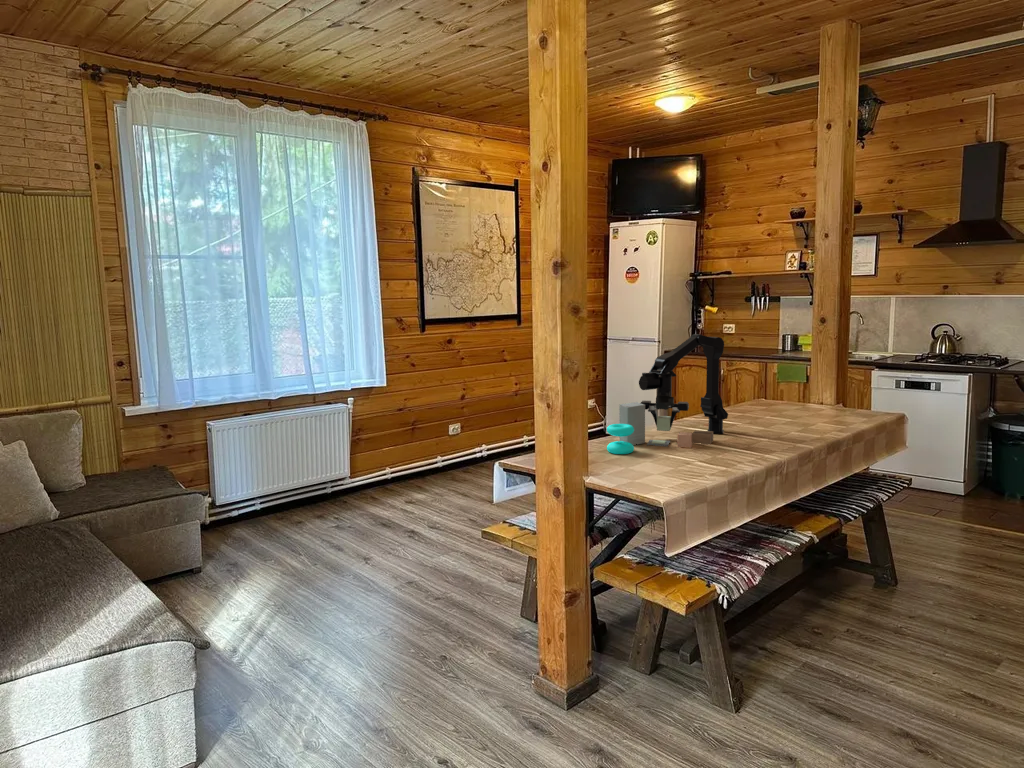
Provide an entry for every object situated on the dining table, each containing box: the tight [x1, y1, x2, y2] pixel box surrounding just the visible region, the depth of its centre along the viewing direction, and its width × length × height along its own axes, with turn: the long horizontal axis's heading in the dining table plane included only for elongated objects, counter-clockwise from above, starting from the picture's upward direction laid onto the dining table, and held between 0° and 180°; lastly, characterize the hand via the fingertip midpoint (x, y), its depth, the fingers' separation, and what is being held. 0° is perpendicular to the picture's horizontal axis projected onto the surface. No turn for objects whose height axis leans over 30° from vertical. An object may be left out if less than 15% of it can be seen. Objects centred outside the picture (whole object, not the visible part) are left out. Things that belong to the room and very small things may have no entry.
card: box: [646, 439, 671, 447], centre depth 275 cm, size 8×8×1 cm
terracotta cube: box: [676, 431, 693, 449], centre depth 269 cm, size 5×5×5 cm
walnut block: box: [691, 430, 714, 445], centre depth 276 cm, size 7×7×4 cm
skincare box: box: [618, 401, 646, 446], centre depth 275 cm, size 8×7×16 cm
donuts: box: [606, 423, 635, 455], centre depth 262 cm, size 10×10×10 cm
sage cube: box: [656, 415, 672, 432], centre depth 282 cm, size 5×5×5 cm
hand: (664, 426), depth 282 cm, fingers closed on sage cube, 5 cm apart
